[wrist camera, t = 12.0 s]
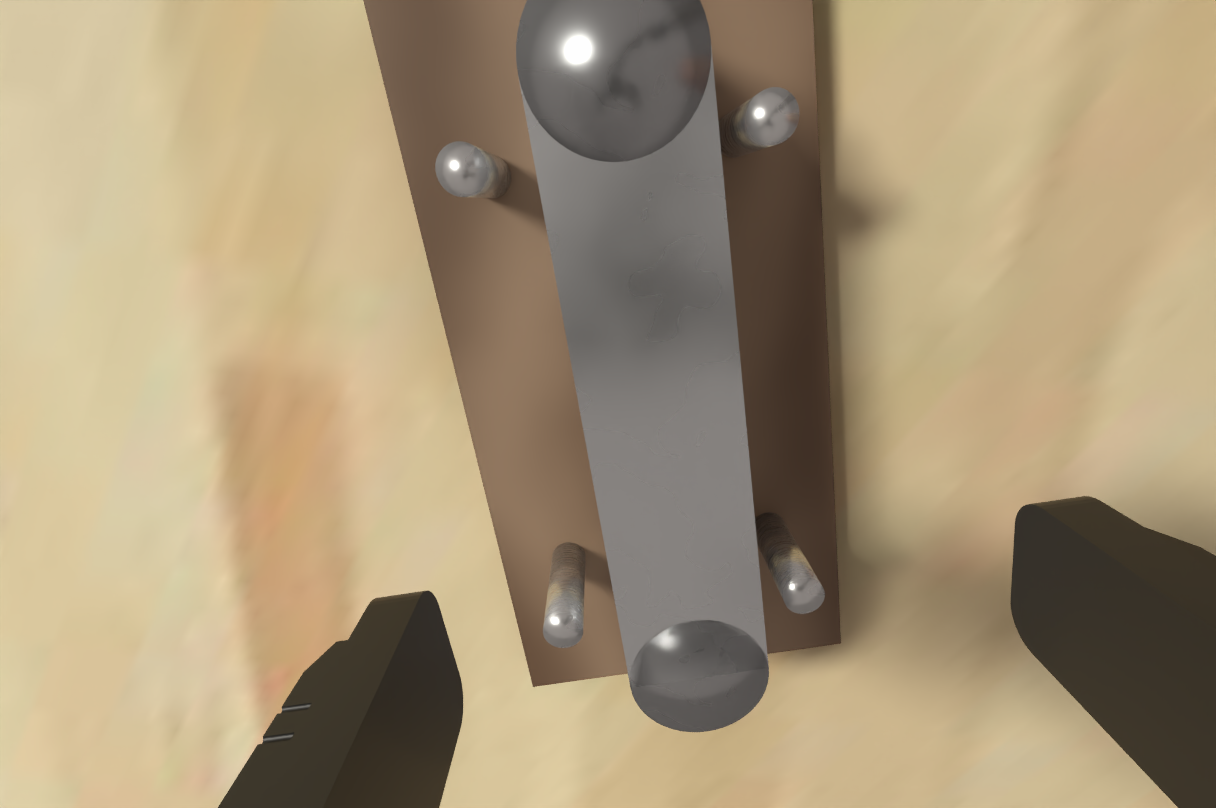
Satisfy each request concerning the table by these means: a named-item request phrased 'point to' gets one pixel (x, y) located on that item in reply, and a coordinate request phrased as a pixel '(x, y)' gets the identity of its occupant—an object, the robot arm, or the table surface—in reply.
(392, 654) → the robot arm
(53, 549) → the table surface
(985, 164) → the table surface
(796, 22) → the tool rest
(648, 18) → the grey long metal bar
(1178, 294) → the table surface
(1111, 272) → the table surface
